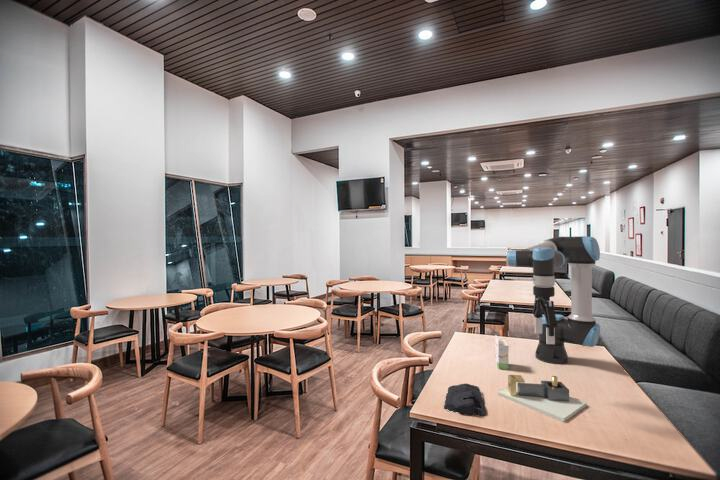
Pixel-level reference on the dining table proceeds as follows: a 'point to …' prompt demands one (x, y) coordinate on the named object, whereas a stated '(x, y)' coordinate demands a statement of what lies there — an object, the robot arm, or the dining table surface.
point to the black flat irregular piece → (465, 400)
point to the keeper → (514, 383)
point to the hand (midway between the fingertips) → (544, 338)
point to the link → (544, 391)
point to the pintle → (554, 382)
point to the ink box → (501, 354)
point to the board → (547, 404)
